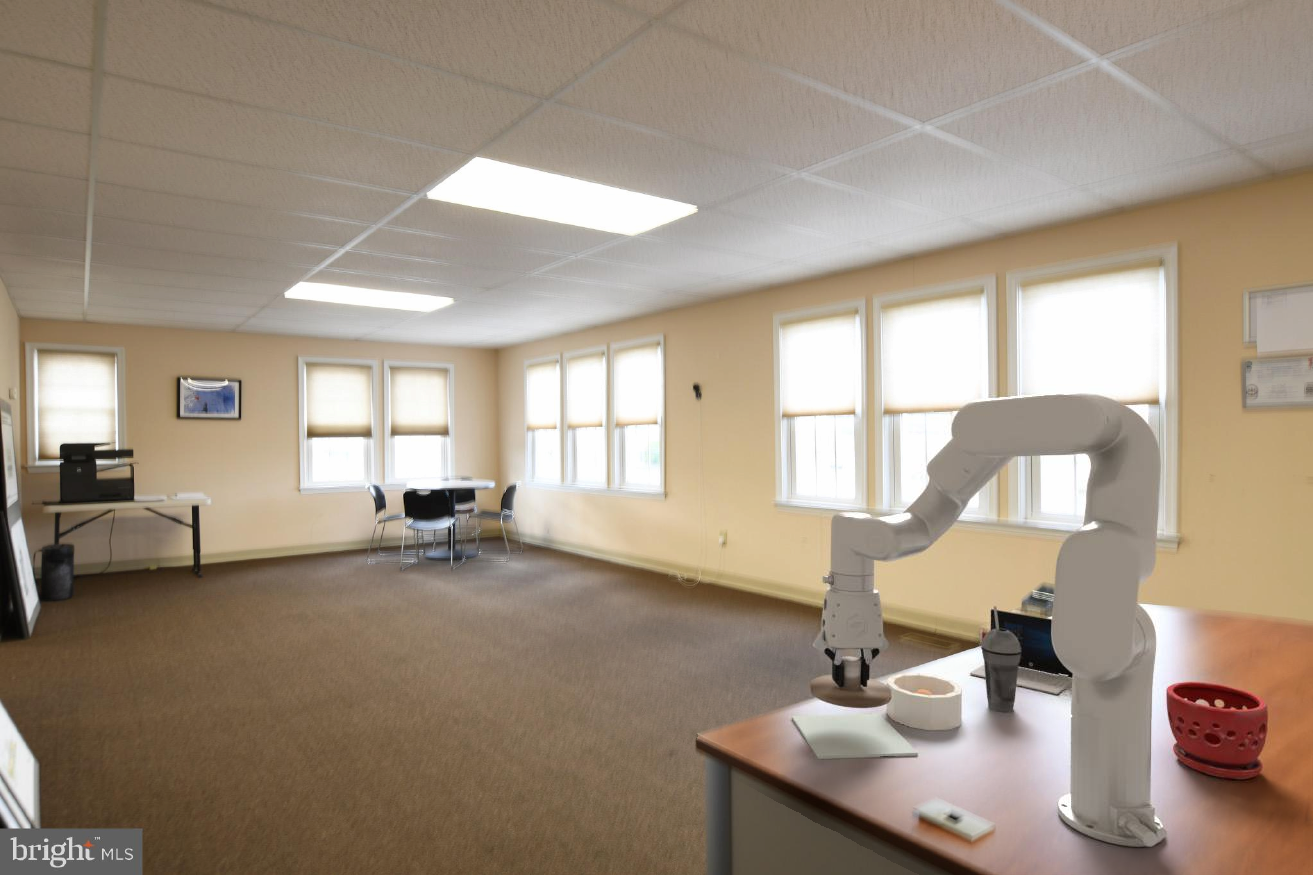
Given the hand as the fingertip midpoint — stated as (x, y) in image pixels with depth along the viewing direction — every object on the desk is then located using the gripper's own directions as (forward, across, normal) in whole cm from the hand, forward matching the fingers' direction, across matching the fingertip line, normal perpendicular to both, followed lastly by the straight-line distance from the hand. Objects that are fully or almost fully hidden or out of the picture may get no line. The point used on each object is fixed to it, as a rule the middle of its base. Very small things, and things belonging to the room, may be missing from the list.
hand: (850, 683), depth 132 cm
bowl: (+9, +17, +8) cm, 21 cm away
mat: (+9, 0, 0) cm, 9 cm away
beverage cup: (+9, +34, +11) cm, 37 cm away
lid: (+2, 0, 0) cm, 2 cm away
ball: (+6, +17, +8) cm, 20 cm away
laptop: (+10, +48, +27) cm, 56 cm away
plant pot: (+9, +55, -16) cm, 58 cm away
